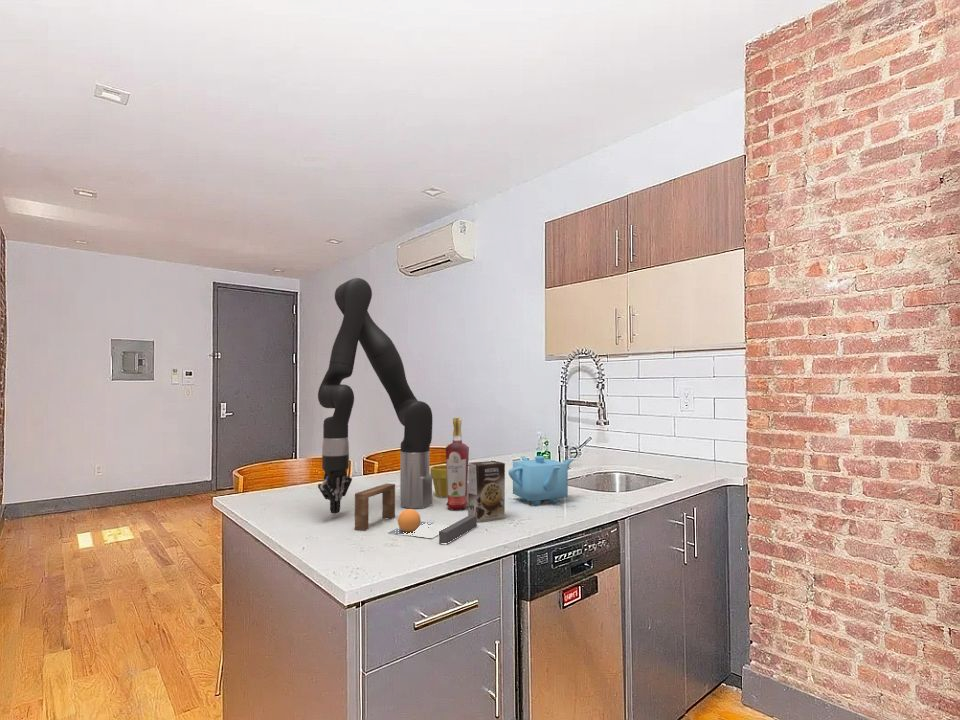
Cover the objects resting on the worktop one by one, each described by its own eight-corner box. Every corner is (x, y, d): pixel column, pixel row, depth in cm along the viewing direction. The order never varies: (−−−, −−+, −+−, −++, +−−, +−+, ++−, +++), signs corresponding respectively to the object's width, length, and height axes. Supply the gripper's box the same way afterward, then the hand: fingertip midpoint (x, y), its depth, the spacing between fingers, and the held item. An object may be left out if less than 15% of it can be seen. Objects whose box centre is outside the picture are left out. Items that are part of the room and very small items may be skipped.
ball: (411, 503, 151) (407, 524, 152) (395, 507, 147) (391, 528, 147) (427, 512, 148) (422, 533, 149) (411, 516, 143) (406, 538, 144)
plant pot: (439, 491, 199) (439, 463, 199) (465, 493, 194) (465, 465, 195) (424, 496, 189) (424, 468, 189) (451, 499, 185) (451, 470, 185)
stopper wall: (476, 526, 153) (476, 515, 153) (446, 544, 136) (446, 532, 137) (470, 525, 154) (470, 514, 154) (439, 543, 137) (439, 531, 137)
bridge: (394, 517, 162) (395, 484, 162) (363, 531, 148) (364, 494, 148) (386, 516, 163) (386, 483, 163) (354, 529, 150) (354, 493, 150)
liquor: (471, 506, 176) (471, 417, 177) (465, 511, 169) (465, 419, 169) (449, 505, 178) (449, 417, 178) (442, 510, 170) (442, 418, 171)
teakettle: (505, 505, 178) (504, 458, 178) (521, 492, 196) (521, 450, 196) (563, 510, 171) (563, 462, 172) (575, 497, 189) (574, 453, 189)
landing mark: (454, 526, 153) (454, 525, 153) (431, 539, 141) (431, 538, 141) (413, 521, 158) (413, 520, 158) (388, 533, 146) (388, 532, 146)
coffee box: (477, 522, 157) (477, 465, 157) (467, 517, 162) (467, 462, 163) (505, 519, 161) (505, 462, 161) (494, 514, 166) (494, 459, 167)
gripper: (331, 457, 154) (330, 519, 154) (360, 450, 166) (359, 509, 166) (309, 455, 157) (309, 517, 157) (339, 449, 169) (339, 506, 169)
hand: (335, 512), depth 161 cm, fingers closed
